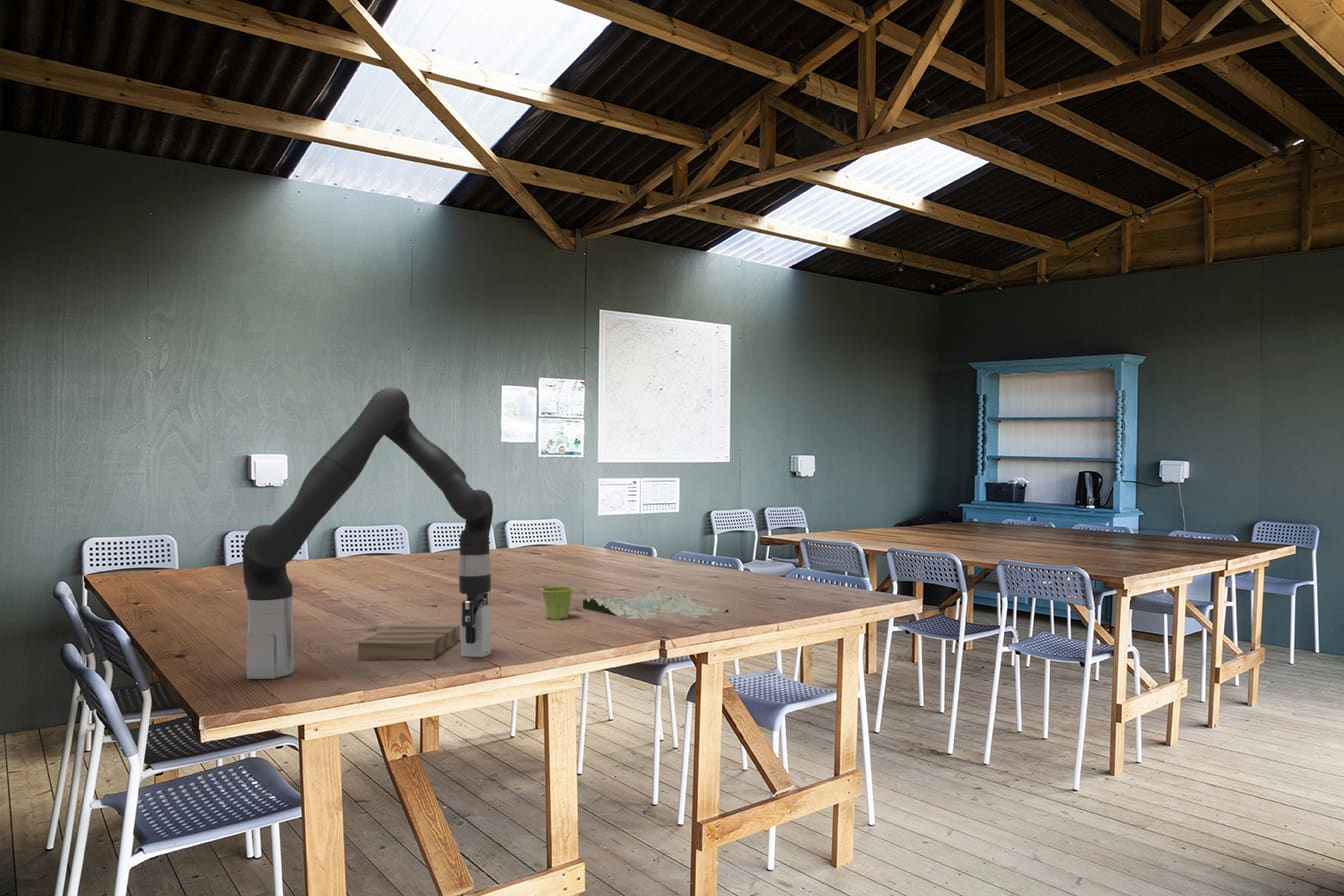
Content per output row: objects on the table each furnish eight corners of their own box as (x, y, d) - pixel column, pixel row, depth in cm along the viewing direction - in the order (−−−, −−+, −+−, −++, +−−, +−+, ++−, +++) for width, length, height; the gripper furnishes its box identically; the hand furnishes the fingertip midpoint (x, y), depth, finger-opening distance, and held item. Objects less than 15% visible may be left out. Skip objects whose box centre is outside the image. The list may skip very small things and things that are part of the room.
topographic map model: (728, 614, 267) (728, 597, 267) (652, 627, 248) (652, 609, 249) (656, 599, 295) (656, 584, 295) (582, 610, 276) (582, 594, 276)
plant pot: (571, 620, 255) (571, 591, 255) (539, 621, 256) (538, 591, 256) (575, 615, 265) (575, 586, 265) (544, 615, 265) (544, 586, 265)
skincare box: (491, 653, 214) (490, 604, 214) (482, 657, 210) (482, 607, 210) (468, 652, 216) (468, 603, 216) (460, 656, 212) (459, 606, 212)
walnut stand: (432, 659, 208) (432, 643, 208) (358, 659, 209) (357, 643, 209) (460, 640, 230) (459, 624, 230) (392, 640, 231) (392, 625, 231)
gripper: (482, 576, 206) (483, 646, 206) (497, 568, 220) (498, 633, 220) (450, 576, 206) (451, 646, 206) (468, 568, 220) (468, 633, 220)
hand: (475, 639), depth 213 cm, fingers open, 8 cm apart
